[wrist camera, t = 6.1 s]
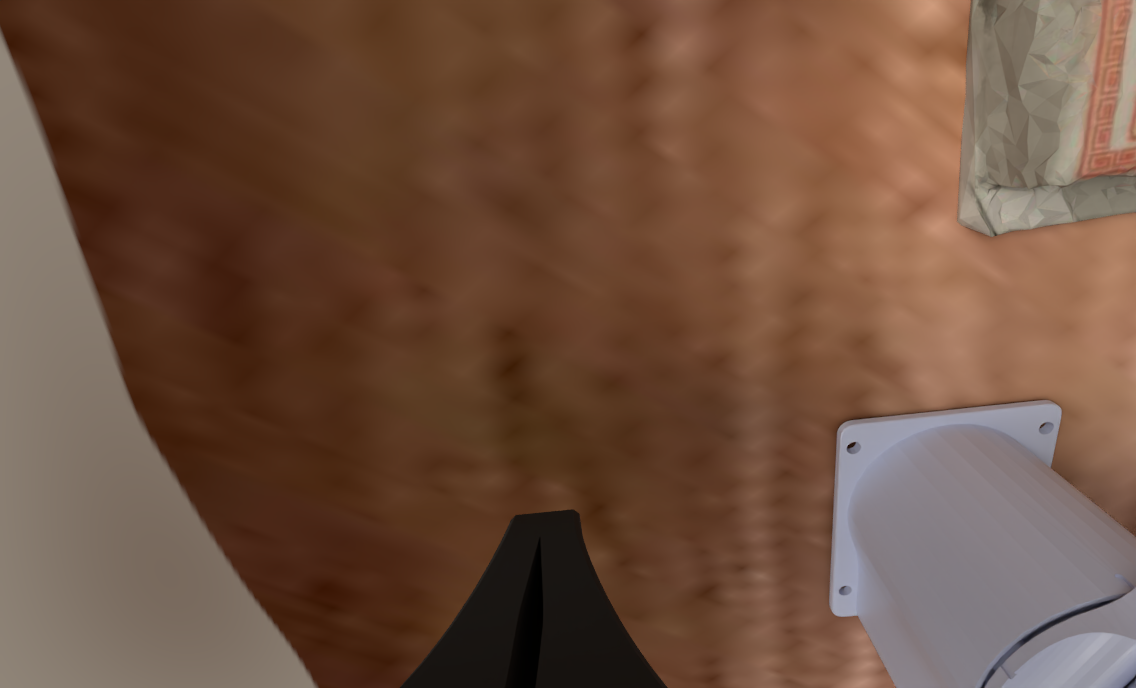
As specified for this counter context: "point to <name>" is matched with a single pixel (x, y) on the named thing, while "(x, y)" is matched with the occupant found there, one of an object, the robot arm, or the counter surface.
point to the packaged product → (1048, 114)
